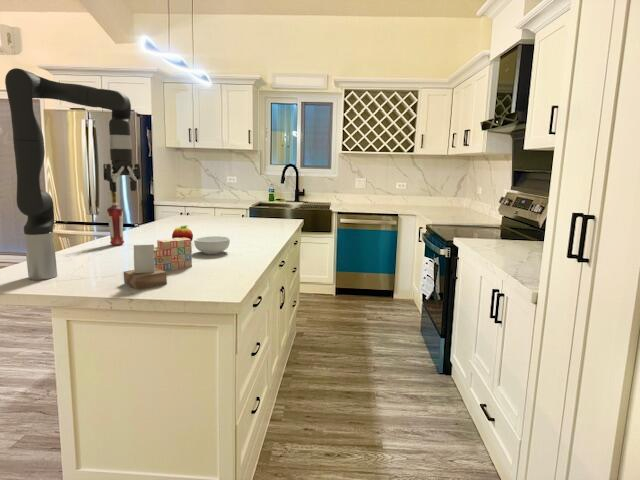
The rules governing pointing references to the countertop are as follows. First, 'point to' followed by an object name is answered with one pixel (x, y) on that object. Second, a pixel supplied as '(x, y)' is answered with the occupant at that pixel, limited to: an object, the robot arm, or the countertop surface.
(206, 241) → the cereal bowl
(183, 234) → the fruit
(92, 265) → the countertop surface
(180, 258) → the stack of blocks
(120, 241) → the liquor
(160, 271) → the walnut block
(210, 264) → the countertop surface
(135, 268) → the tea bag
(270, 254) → the countertop surface
